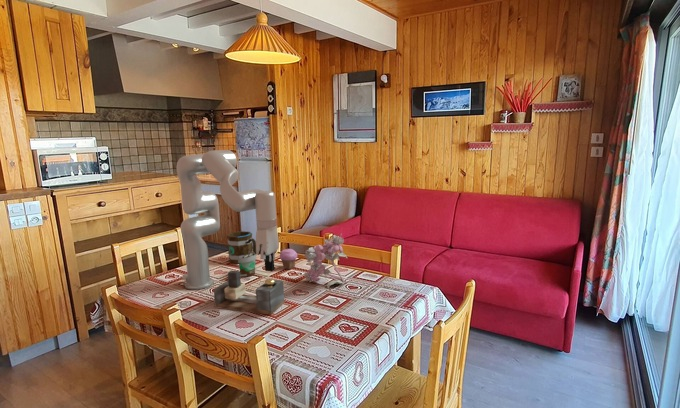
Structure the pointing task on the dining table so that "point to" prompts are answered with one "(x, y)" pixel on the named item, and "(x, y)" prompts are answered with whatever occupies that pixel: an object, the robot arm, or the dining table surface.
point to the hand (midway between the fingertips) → (269, 270)
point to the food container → (247, 265)
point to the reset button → (269, 282)
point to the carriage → (234, 286)
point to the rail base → (245, 306)
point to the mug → (240, 245)
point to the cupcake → (288, 258)
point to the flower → (317, 256)
